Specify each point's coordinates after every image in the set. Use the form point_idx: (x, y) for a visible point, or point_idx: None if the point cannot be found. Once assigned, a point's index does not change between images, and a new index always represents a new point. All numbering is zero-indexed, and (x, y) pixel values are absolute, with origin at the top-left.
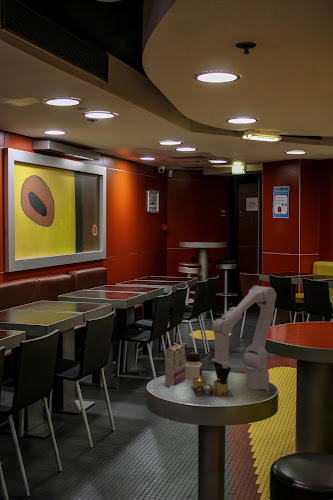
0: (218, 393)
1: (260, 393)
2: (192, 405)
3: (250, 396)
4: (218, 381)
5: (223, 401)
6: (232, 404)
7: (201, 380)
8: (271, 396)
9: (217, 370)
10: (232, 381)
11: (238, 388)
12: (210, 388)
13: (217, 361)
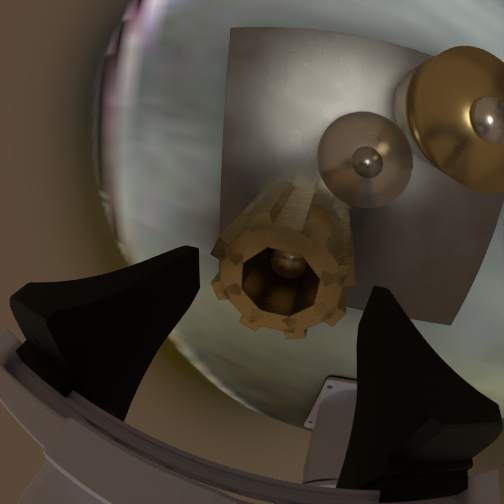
0: (251, 203)
1: (292, 398)
2: (132, 16)
3: (256, 355)
4: (317, 267)
5: (179, 198)
6: (134, 227)
7: (420, 104)
8: (244, 403)
9: (388, 357)
10: (499, 370)
11: None
12: (319, 163)
13: (31, 421)
